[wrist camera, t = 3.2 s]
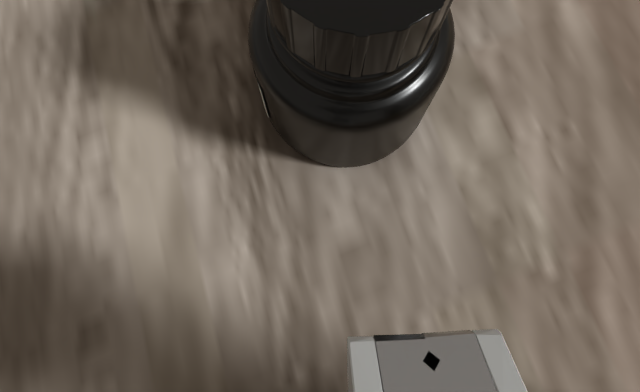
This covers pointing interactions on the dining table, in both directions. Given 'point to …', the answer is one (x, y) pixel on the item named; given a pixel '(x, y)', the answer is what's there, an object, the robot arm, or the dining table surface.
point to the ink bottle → (349, 72)
